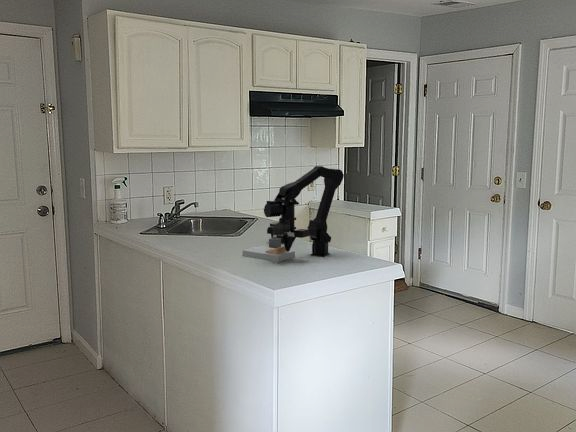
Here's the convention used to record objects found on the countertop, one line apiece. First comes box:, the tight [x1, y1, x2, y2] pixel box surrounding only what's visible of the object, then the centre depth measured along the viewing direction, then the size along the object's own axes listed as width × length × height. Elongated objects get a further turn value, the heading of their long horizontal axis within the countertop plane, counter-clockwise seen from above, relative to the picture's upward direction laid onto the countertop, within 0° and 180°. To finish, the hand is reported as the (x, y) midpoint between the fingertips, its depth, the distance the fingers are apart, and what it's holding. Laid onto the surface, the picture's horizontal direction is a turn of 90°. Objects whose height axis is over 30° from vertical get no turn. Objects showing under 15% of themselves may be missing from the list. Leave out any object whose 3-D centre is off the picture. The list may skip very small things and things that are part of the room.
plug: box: [268, 235, 282, 248], centre depth 255 cm, size 4×4×8 cm
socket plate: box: [241, 245, 296, 263], centre depth 245 cm, size 20×12×2 cm, turn 54°
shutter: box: [265, 245, 286, 254], centre depth 243 cm, size 6×6×2 cm
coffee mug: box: [269, 221, 284, 245], centre depth 274 cm, size 12×9×10 cm
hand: (287, 251), depth 239 cm, fingers closed
